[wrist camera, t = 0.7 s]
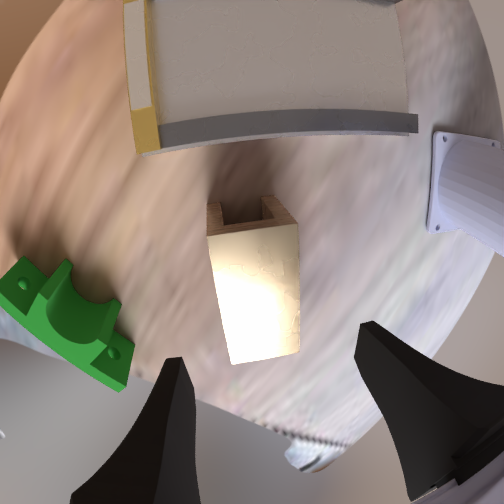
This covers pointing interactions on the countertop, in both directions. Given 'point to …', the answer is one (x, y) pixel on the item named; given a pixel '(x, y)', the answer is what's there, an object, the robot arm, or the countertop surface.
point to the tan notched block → (257, 281)
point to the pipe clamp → (68, 321)
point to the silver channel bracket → (262, 71)
